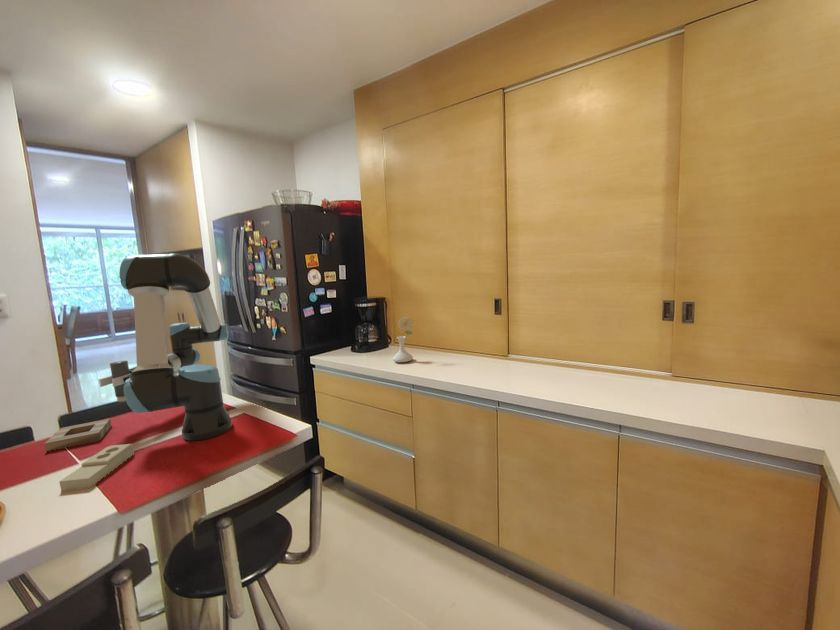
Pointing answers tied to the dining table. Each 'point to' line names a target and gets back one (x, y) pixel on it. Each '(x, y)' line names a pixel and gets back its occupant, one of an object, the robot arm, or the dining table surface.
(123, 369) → the plug
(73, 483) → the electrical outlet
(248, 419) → the dining table surface
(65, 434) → the socket plate
